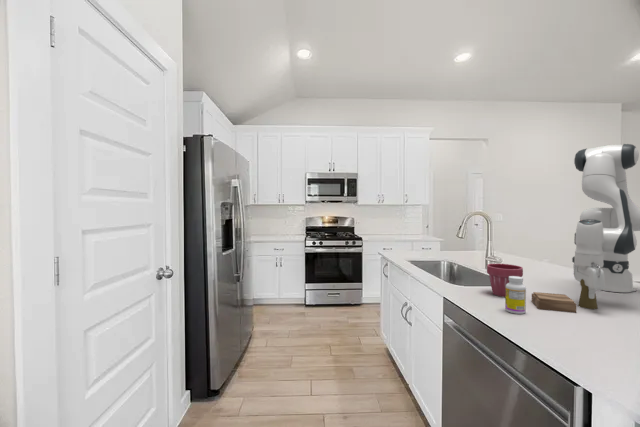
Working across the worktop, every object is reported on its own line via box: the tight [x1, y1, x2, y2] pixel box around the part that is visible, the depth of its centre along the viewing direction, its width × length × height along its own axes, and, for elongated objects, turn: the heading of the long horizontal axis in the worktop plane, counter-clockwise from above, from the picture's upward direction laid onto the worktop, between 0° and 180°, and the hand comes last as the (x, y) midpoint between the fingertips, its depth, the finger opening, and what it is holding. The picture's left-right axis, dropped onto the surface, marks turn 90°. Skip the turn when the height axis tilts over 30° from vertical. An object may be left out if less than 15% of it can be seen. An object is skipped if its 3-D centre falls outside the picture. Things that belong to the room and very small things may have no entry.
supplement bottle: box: [504, 276, 527, 315], centre depth 128 cm, size 7×7×13 cm
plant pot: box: [486, 263, 524, 298], centre depth 154 cm, size 14×14×13 cm
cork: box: [577, 279, 598, 310], centre depth 136 cm, size 6×6×11 cm
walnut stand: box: [531, 291, 578, 314], centre depth 136 cm, size 12×12×4 cm
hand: (588, 296), depth 136 cm, fingers closed on cork, 5 cm apart
